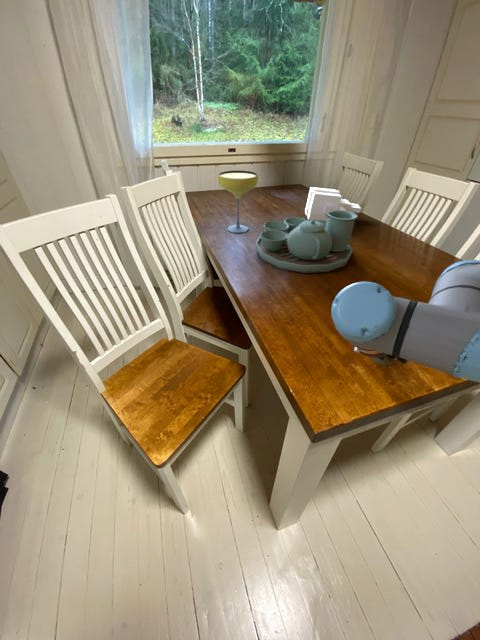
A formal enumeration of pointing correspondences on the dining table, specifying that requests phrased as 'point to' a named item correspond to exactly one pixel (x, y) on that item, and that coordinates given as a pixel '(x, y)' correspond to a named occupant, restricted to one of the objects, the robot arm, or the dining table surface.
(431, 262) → the dining table surface
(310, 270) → the tea set
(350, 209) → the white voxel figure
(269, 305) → the dining table surface
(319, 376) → the dining table surface
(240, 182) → the cocktail glass
